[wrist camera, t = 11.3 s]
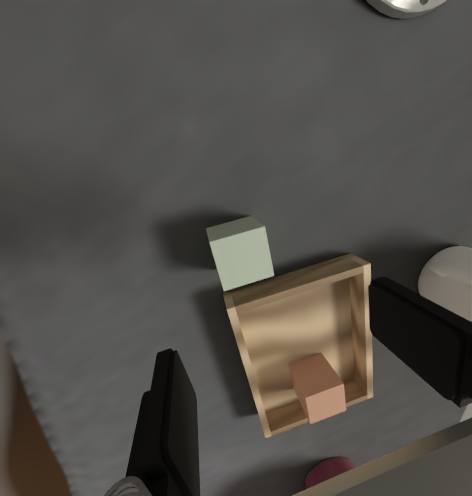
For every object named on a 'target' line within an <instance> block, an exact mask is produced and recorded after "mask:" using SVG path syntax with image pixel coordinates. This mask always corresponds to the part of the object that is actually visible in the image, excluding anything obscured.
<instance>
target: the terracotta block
mask: <svg viewBox="0 0 472 496" xmlns="http://www.w3.org/2000/svg"><path fill="white" fill-rule="evenodd" d="M288 365H289V370H290V374H291V379H292V384H293V389H294V391H295V393H296V395H297V397H298V399H299V401H300V404H301V406H302V408H303V410H304V412H305V414H306V416H307V418H308V420H309V423H310V424H312V423H315V422H317V421H320V420H323V419H325V418H328V417H330V416H333V415H335V414H338V413H341V412H343V411H346V403H345V392H344V383H343V382H342V380H341V379H340V378H339V376H338V375H337V373H336V372H335V371H334V369H333V368H332V367H331V365H330V364H329V362H328V361H327V360H326V358H325V357H324V355H323V354H322V353H319V354H316V355H313V356H310V357H307V358H305V359H302V360H299V361H296V362H293V363H291V364H288Z"/></svg>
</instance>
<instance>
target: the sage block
mask: <svg viewBox="0 0 472 496" xmlns="http://www.w3.org/2000/svg"><path fill="white" fill-rule="evenodd" d="M206 231H207V235H208V239H209V243H210V246H211V250H212V253H213V256H214V260H215V263H216V266H217V270H218V273H219V277H220V280H221V283H222V287H223V290H224V291H227V290H230V289H233V288H236V287H240V286H243V285H246V284H249V283H253V282H256V281H259V280H262V279H265V278H269V277H272V276H274V271H273V266H272V261H271V256H270V251H269V245H268V240H267V235H266V230H265V226H264V225H262V224H261V223H260V222H258V221H257V220H256V219H254V218H253V217H252V216H248V217H245V218H241V219H238V220H234V221H230V222H227V223H223V224H220V225H216V226H213V227H209V228H206Z"/></svg>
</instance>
